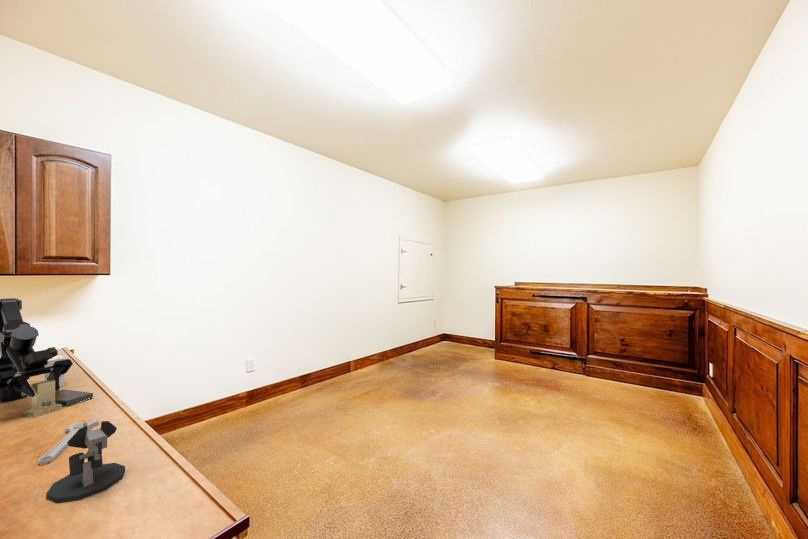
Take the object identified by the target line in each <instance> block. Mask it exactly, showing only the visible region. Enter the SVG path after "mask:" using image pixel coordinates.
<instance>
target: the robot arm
mask: <svg viewBox="0 0 808 539" xmlns="http://www.w3.org/2000/svg"><path fill="white" fill-rule="evenodd" d="M21 310H23V302H22V300H21V299H19V298H15V297H14V298H13V297H10V298H0V403H6V402H10V401H11V402H12V401H14V400H18V399H21V398H26V397H28V396H29V397H31V398H32V397H34V396H35V393H34V390H33V389H32V385H31V384H30V383H29V381H28V380H29V379H30V378H31V377H35V376H37V377H38V376H41V375H45V374H47V375H48V377H47V379H46V380H55V390H59V375H62V374H64V375H65V374H67V373H68V372H69V370H70V369H71V367H72V366H73V365H74V363H73V361H72V360H71V359H70V358H64V360H59V361H55V363H54V364H53V365H52V366H50V367H45V365H47V364H48V360H49V359H52V358H53V357H55V356H58V355H59V353H58V349H56V347H55V346H52V347H48V348H46V349H42V350H37V351H35V349H34V348H33V347H34V346H35V345H36V342H37V337H38V336H39V330H38V329H37V328H35V327H33V326H31V325H30V324H31V323H29V322H26V321H24V319H23V316H22V314H21Z"/></svg>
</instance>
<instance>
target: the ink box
mask: <svg viewBox="0 0 808 539" xmlns="http://www.w3.org/2000/svg"><path fill="white" fill-rule="evenodd" d="M64 359H65V358H64V356H63V355H62V354H61V355H60V354H58V355H57V356H55V357H53V358H52V359H49V360H48V364H47V365H45V367H50V366H52V365H53V364H54V363H55V361H59V360H64ZM47 377H48V375H47V374H44V381H46V379H47ZM59 385H60V386H64V387H65V374H62V375H59Z"/></svg>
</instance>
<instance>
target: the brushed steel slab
mask: <svg viewBox="0 0 808 539" xmlns="http://www.w3.org/2000/svg"><path fill="white" fill-rule="evenodd" d="M60 388H61V387H60V385H59V390H55V404H62V407H64V406H67V407H70V406H69V405H71V406H73V405H72V404H74V405H76V404H75V403H77V404H79V403H78V402H80V401H83V400H86V399H88V398H92V397H93V398H94V392H90V391H89V392H88V391H79V390H71V389H70V390H69V389H65V388H64V389H63V388H62V389H60ZM86 401H87V400H86ZM83 402H84V401H83ZM80 403H81V402H80Z"/></svg>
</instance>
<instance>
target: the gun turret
mask: <svg viewBox="0 0 808 539" xmlns="http://www.w3.org/2000/svg"><path fill="white" fill-rule="evenodd" d="M82 424H83V425H82V426H83V427H82V428H80V429H79V430H78V431H77V432H76V433H75V434H74V435H73V436H72V438H71V439H70V440H69V441H68V442H67V443H68V447H71V448H78V449H87V451H86V453H84V452H78V453H75V454H73V455H70V456H69V457H68V468H69V474H68V475H66V476H63V478H60V479H59V480H57V481H55V482H53V483H52V484H51V486H50V487H49V489H48V491H47V492H46V496H45V499H47V500H49V501H50V502H53V503H54V504H61V503H68V502H74V501H80V500H83V499H86V498H88V497H91V496H94V495H96V494H99V493H102V492H104V491H106V490H108V489H109V488H111V487H113V484H114V485H115V484H117V483H119V482H120V481H121V480H123V478H124V475H125V471H126V465H123V464H119V463H117V462H109V463H104V462H103V455H102V454H103V449H107V448H108V438H109V437H111V436H113V435H114V434H115V433H116V432H117V430H118V428H117V426H115V425H114V424H113V423H111V422H110V421H109V420H107V421H106V420H102V421H101V423H100V428H97V429H92V428H90V427H89V425H88V422H87V421H84V422H83V423H82ZM86 459H87V461H86V462H85V460H86ZM119 480H120V481H119ZM116 482H117V483H116Z"/></svg>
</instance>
